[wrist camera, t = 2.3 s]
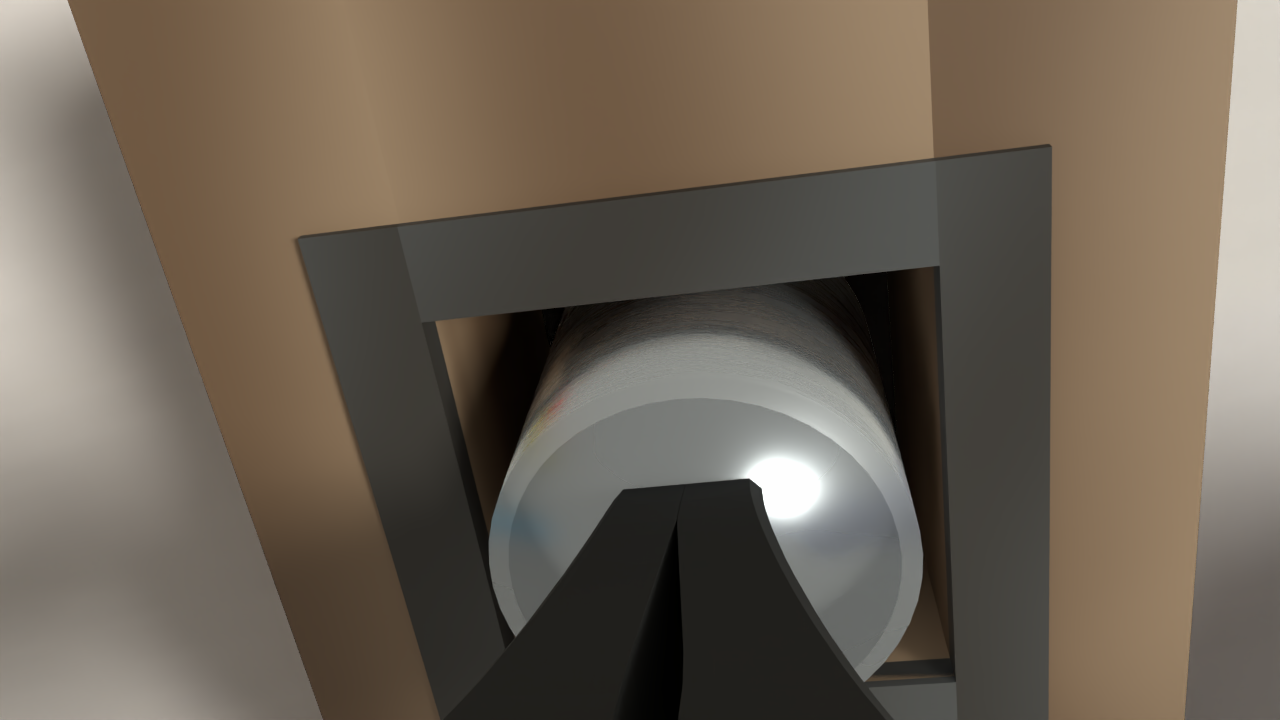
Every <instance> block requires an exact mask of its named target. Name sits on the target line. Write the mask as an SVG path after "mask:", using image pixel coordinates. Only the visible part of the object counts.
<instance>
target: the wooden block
mask: <svg viewBox="0 0 1280 720" xmlns="http://www.w3.org/2000/svg"><path fill="white" fill-rule="evenodd" d="M68 3H69V6H70V8H71V11H72V14H73V17H74V20H75V22H76V25H77V28H78V31H79V34H80V36H81V39H82V42H83V45H84V48H85V51H86V53H87V56H88V59H89V62H90V65H91V67H92V70H93V73H94V76H95V79H96V81H97V84H98V87H99V90H100V93H101V96H102V98H103V101H104V104H105V107H106V110H107V112H108V115H109V118H110V121H111V124H112V127H113V129H114V132H115V135H116V138H117V141H118V143H119V146H120V149H121V152H122V155H123V157H124V160H125V163H126V166H127V169H128V172H129V174H130V177H131V180H132V183H133V186H134V188H135V191H136V194H137V197H138V200H139V202H140V205H141V208H142V211H143V214H144V217H145V219H146V222H147V225H148V228H149V231H150V233H151V236H152V239H153V242H154V245H155V248H156V250H157V253H158V256H159V259H160V262H161V264H162V267H163V270H164V273H165V276H166V278H167V281H168V284H169V287H170V290H171V293H172V295H173V298H174V301H175V304H176V307H177V309H178V312H179V315H180V318H181V321H182V324H183V326H184V329H185V332H186V335H187V338H188V340H189V343H190V346H191V349H192V352H193V354H194V357H195V360H196V363H197V366H198V369H199V371H200V374H201V377H202V380H203V383H204V385H205V388H206V391H207V394H208V397H209V399H210V402H211V405H212V408H213V411H214V414H215V416H216V419H217V422H218V425H219V428H220V430H221V433H222V436H223V439H224V442H225V445H226V447H227V450H228V453H229V456H230V459H231V461H232V464H233V467H234V470H235V473H236V475H237V478H238V481H239V484H240V487H241V490H242V492H243V495H244V498H245V501H246V504H247V506H248V509H249V512H250V515H251V518H252V521H253V523H254V526H255V529H256V532H257V535H258V537H259V540H260V543H261V546H262V549H263V551H264V554H265V557H266V560H267V563H268V566H269V568H270V571H271V574H272V577H273V580H274V582H275V585H276V588H277V591H278V594H279V596H280V599H281V602H282V605H283V608H284V611H285V613H286V616H287V619H288V622H289V625H290V627H291V630H292V633H293V636H294V639H295V642H296V644H297V647H298V650H299V653H300V656H301V658H302V661H303V664H304V667H305V670H306V672H307V675H308V678H309V681H310V684H311V687H312V689H313V692H314V695H315V698H316V701H317V703H318V706H319V709H320V712H321V715H322V718H323V720H443V719H444V718H445V717H446V716H447V715H448V714H449V713H450V711H451V710H452V709H453V708H454V707H455V706H456V705H457V704H458V703H459V702H460V701H461V700H462V699H463V697H464V696H465V695H466V694H467V693H468V692H469V691H470V690H471V689H472V688H473V686H474V685H475V684H476V683H477V682H478V681H479V680H480V678H481V677H482V676H483V675H484V674H485V672H486V671H487V670H488V669H489V668H490V667H491V665H492V664H493V663H494V662H495V661H496V659H497V658H498V657H499V656H500V655H501V654H502V652H503V651H504V650H505V649H506V648H507V646H508V645H509V644H510V643H511V642H512V641H513V639H514V638H515V637H516V636H515V635H514V634H513V632H512V631H511V629H510V627H509V625H508V623H507V621H506V619H505V617H504V615H503V613H502V611H501V609H500V606H499V603H498V600H497V597H496V594H495V591H494V588H493V584H492V578H491V572H490V566H489V536H490V529H491V522H492V517H493V514H494V511H495V507H496V504H497V501H498V498H499V495H500V492H501V489H502V486H503V483H504V480H505V477H506V475H507V472H508V469H509V466H510V463H511V460H512V457H513V454H514V452H515V449H516V446H517V443H518V440H519V437H520V434H521V432H522V429H523V426H524V423H525V420H526V417H527V414H528V411H529V409H530V406H531V403H532V400H533V397H534V394H535V391H536V388H537V386H538V383H539V380H540V377H541V374H542V371H543V368H544V366H545V363H546V360H547V357H548V354H549V351H550V347H549V342H548V337H547V333H546V328H545V323H544V318H543V313H542V309H550V308H559V307H568V306H577V305H586V304H595V303H604V302H613V301H623V300H632V299H641V298H650V297H659V296H668V295H677V294H686V293H695V292H704V291H713V290H723V289H732V288H741V287H750V286H759V285H768V284H777V283H786V282H795V281H804V280H813V279H823V278H832V277H841V276H850V275H859V274H868V273H877V272H886V271H887V285H888V301H889V318H890V334H891V351H892V367H893V384H894V400H895V416H896V433H897V442H898V446H899V450H900V454H901V458H902V462H903V466H904V470H905V474H906V478H907V482H908V486H909V490H910V493H911V497H912V501H913V505H914V509H915V513H916V517H917V521H918V525H919V529H920V535H921V543H922V550H923V574H922V583H921V588H920V593H919V598H918V602H917V605H916V608H915V610H914V613H913V616H912V619H911V621H910V624H909V626H908V627H907V629H906V631H905V633H904V635H903V636H902V638H901V640H900V642H899V644H898V645H897V646H896V648H895V649H894V650H893V652H892V653H891V654H890V656H889V657H888V658H887V660H886V661H885V662H884V663H883V664H882V665H881V666H880V667H879V668H878V669H877V670H876V671H875V672H874V673H873V674H872V675H871V676H870V677H869V678H868V679H867V680H866V681H865V682H864V683H865V684H866V686H867V687H868V688H869V689H870V691H871V692H872V693H873V695H874V696H875V697H876V698H877V700H878V701H879V702H880V703H881V705H882V706H883V707H884V708H885V710H886V711H887V712H888V713H889V714H890V716H891V717H892V718H893V719H894V720H1184V717H1185V703H1186V690H1187V676H1188V663H1189V649H1190V636H1191V622H1192V609H1193V595H1194V582H1195V568H1196V555H1197V541H1198V527H1199V514H1200V500H1201V487H1202V473H1203V460H1204V446H1205V433H1206V419H1207V406H1208V392H1209V379H1210V365H1211V352H1212V338H1213V325H1214V311H1215V298H1216V284H1217V270H1218V257H1219V243H1220V230H1221V216H1222V203H1223V189H1224V176H1225V162H1226V149H1227V135H1228V122H1229V108H1230V95H1231V81H1232V68H1233V54H1234V41H1235V27H1236V14H1237V0H68Z"/></svg>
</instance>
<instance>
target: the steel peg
mask: <svg viewBox="0 0 1280 720" xmlns="http://www.w3.org/2000/svg"><path fill="white" fill-rule="evenodd" d="M747 478H750V479H751V480H752V481H754V482H755V483H756V484H758V485H759V486H760V487H761V488H762V490H763V498H764V504H765V509H766V512H767V515H768V518H769V521H770V524H771V526H772V529H773V531H774V534H775V536H776V538H777V540H778V543H779V545H780V547H781V549H782V552H783V554H784V556H785V558H786V560H787V562H788V564H789V566H790V568H791V570H792V572H793V573H794V575H795V577H796V579H797V580H798V582H799V584H800V586H801V587H802V589H803V591H804V592H805V594H806V596H807V598H808V599H809V601H810V603H811V605H812V606H813V608H814V610H815V612H816V613H817V615H818V616H819V618H820V619H821V621H822V623H823V624H824V626H825V627H826V629H827V630H828V632H829V634H830V635H831V637H832V638H833V639H834V641H835V642H836V644H837V645H838V647H839V648H840V649H841V651H842V652H843V654H844V655H845V657H846V658H847V660H848V661H849V662H850V664H851V665H852V667H853V668H854V669H855V671H856V672H857V674H858V675H859V676H860V678H861V679H862V680H863V682H865V681H866V680H867V679H868V678H869V677H870V676H871V675H872V674H873V673H874V672H875V671H876V670H877V669H878V668H879V667H880V666H881V665H882V664H883V663H884V662H885V661H886V660H887V658H888V657H889V656H890V654H891V653H892V652H893V650H894V649H895V648H896V646H897V645H898V644H899V642H900V640H901V638H902V636H903V635H904V633H905V631H906V629H907V627H908V626H909V624H910V621H911V619H912V616H913V613H914V610H915V608H916V605H917V602H918V598H919V593H920V588H921V583H922V574H923V550H922V543H921V535H920V529H919V525H918V521H917V517H916V513H915V509H914V505H913V501H912V497H911V493H910V490H909V486H908V482H907V478H906V474H905V470H904V466H903V462H902V458H901V454H900V450H899V446H898V442H897V438H896V434H895V430H894V427H893V423H892V419H891V415H890V411H889V407H888V403H887V399H886V395H885V391H884V387H883V383H882V379H881V375H880V371H879V367H878V363H877V360H876V356H875V352H874V348H873V344H872V340H871V336H870V332H869V328H868V325H867V322H866V318H865V315H864V312H863V310H862V308H861V306H860V303H859V301H858V299H857V297H856V295H855V293H854V292H853V290H852V289H851V287H850V286H849V284H848V283H847V281H846V280H845V278H844V277H843V276H841V277H832V278H823V279H813V280H804V281H795V282H786V283H777V284H768V285H759V286H750V287H741V288H732V289H723V290H713V291H704V292H695V293H686V294H677V295H668V296H659V297H650V298H641V299H632V300H623V301H613V302H604V303H595V304H586V305H577V306H568V307H565V308H564V311H563V314H562V317H561V320H560V323H559V325H558V328H557V331H556V334H555V337H554V340H553V343H552V345H551V348H550V351H549V354H548V357H547V360H546V363H545V366H544V368H543V371H542V374H541V377H540V380H539V383H538V386H537V388H536V391H535V394H534V397H533V400H532V403H531V406H530V409H529V411H528V414H527V417H526V420H525V423H524V426H523V429H522V432H521V434H520V437H519V440H518V443H517V446H516V449H515V452H514V454H513V457H512V460H511V463H510V466H509V469H508V472H507V475H506V477H505V480H504V483H503V486H502V489H501V492H500V495H499V498H498V501H497V504H496V507H495V511H494V514H493V517H492V522H491V529H490V536H489V566H490V572H491V578H492V584H493V588H494V591H495V594H496V597H497V600H498V603H499V606H500V609H501V611H502V613H503V615H504V617H505V619H506V621H507V623H508V625H509V627H510V629H511V631H512V632H513V634H514V635H515V636H517V635H518V633H519V632H520V631H521V630H522V628H523V627H524V626H525V625H526V623H527V622H528V621H529V620H530V618H531V617H532V616H533V614H534V613H535V612H536V610H537V609H538V608H539V606H540V605H541V604H542V602H543V601H544V600H545V598H546V597H547V596H548V594H549V593H550V592H551V590H552V589H553V588H554V586H555V585H556V583H557V582H558V581H559V579H560V578H561V577H562V575H563V574H564V573H565V571H566V570H567V568H568V567H569V566H570V564H571V563H572V561H573V560H574V558H575V557H576V556H577V554H578V553H579V551H580V550H581V548H582V547H583V545H584V544H585V543H586V541H587V540H588V538H589V537H590V535H591V534H592V532H593V531H594V529H595V528H596V526H597V525H598V523H599V522H600V520H601V519H602V517H603V515H604V514H605V512H606V511H607V509H608V508H609V506H610V505H611V503H612V502H613V500H614V499H615V498H616V497H617V496H618V495H619V494H620V492H621V491H622V490H623V489H634V488H645V487H656V486H668V485H679V484H691V483H702V482H713V481H724V480H736V479H747Z"/></svg>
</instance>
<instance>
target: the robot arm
mask: <svg viewBox="0 0 1280 720" xmlns="http://www.w3.org/2000/svg"><path fill="white" fill-rule="evenodd" d="M443 720H894V719H893V718H892V717H891V716H890V714H889V713H888V712H887V711H886V710H885V708H884V707H883V706H882V705H881V703H880V702H879V701H878V700H877V698H876V697H875V696H874V695H873V693H872V692H871V691H870V689H869V688H868V687H867V686H866V684H865V683H864V682H863V680H862V679H861V678H860V676H859V675H858V674H857V672H856V671H855V669H854V668H853V667H852V665H851V664H850V662H849V661H848V660H847V658H846V657H845V655H844V654H843V652H842V651H841V649H840V648H839V647H838V645H837V644H836V642H835V641H834V639H833V638H832V637H831V635H830V634H829V632H828V630H827V629H826V627H825V626H824V624H823V623H822V621H821V619H820V618H819V616H818V615H817V613H816V612H815V610H814V608H813V606H812V605H811V603H810V601H809V599H808V598H807V596H806V594H805V592H804V591H803V589H802V587H801V586H800V584H799V582H798V580H797V579H796V577H795V575H794V573H793V572H792V570H791V568H790V566H789V564H788V562H787V560H786V558H785V556H784V554H783V552H782V549H781V547H780V545H779V543H778V540H777V538H776V536H775V534H774V531H773V529H772V526H771V524H770V521H769V518H768V515H767V512H766V509H765V504H764V498H763V490H762V488H761V487H760V486H759V485H758V484H756V483H755V482H754V481H752V480H751V479H750V478H747V479H736V480H724V481H713V482H702V483H691V484H679V485H668V486H656V487H645V488H634V489H623V490H622V491H621V492H620V494H619V495H618V496H617V497H616V498H615V499H614V500H613V502H612V503H611V505H610V506H609V508H608V509H607V511H606V512H605V514H604V515H603V517H602V519H601V520H600V522H599V523H598V525H597V526H596V528H595V529H594V531H593V532H592V534H591V535H590V537H589V538H588V540H587V541H586V543H585V544H584V545H583V547H582V548H581V550H580V551H579V553H578V554H577V556H576V557H575V558H574V560H573V561H572V563H571V564H570V566H569V567H568V568H567V570H566V571H565V573H564V574H563V575H562V577H561V578H560V579H559V581H558V582H557V583H556V585H555V586H554V588H553V589H552V590H551V592H550V593H549V594H548V596H547V597H546V598H545V600H544V601H543V602H542V604H541V605H540V606H539V608H538V609H537V610H536V612H535V613H534V614H533V616H532V617H531V618H530V620H529V621H528V622H527V623H526V625H525V626H524V627H523V628H522V630H521V631H520V632H519V633H518V635H517V636H516V637H515V638H514V639H513V641H512V642H511V643H510V644H509V645H508V646H507V648H506V649H505V650H504V651H503V652H502V654H501V655H500V656H499V657H498V658H497V659H496V661H495V662H494V663H493V664H492V665H491V667H490V668H489V669H488V670H487V671H486V672H485V674H484V675H483V676H482V677H481V678H480V680H479V681H478V682H477V683H476V684H475V685H474V686H473V688H472V689H471V690H470V691H469V692H468V693H467V694H466V695H465V696H464V697H463V699H462V700H461V701H460V702H459V703H458V704H457V705H456V706H455V707H454V708H453V709H452V710H451V711H450V713H449V714H448V715H447V716H446V717H445V718H444V719H443Z"/></svg>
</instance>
